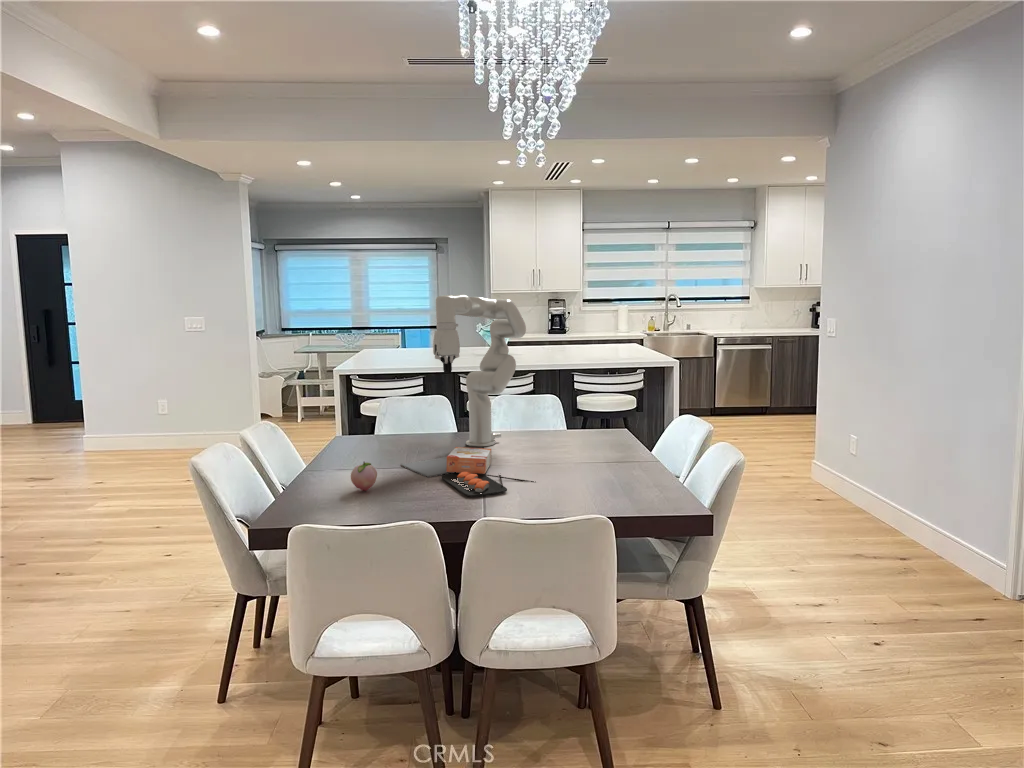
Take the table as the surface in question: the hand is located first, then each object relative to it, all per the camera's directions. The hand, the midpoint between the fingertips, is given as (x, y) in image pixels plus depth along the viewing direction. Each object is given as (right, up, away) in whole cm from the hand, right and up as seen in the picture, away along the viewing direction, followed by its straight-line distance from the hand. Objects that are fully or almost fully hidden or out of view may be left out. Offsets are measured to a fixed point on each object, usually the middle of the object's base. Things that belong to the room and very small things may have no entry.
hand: (447, 372), depth 281 cm
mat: (-1, -35, -18) cm, 40 cm away
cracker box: (+11, -31, -14) cm, 36 cm away
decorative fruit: (-23, -40, -50) cm, 68 cm away
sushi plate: (+20, -39, -42) cm, 60 cm away
